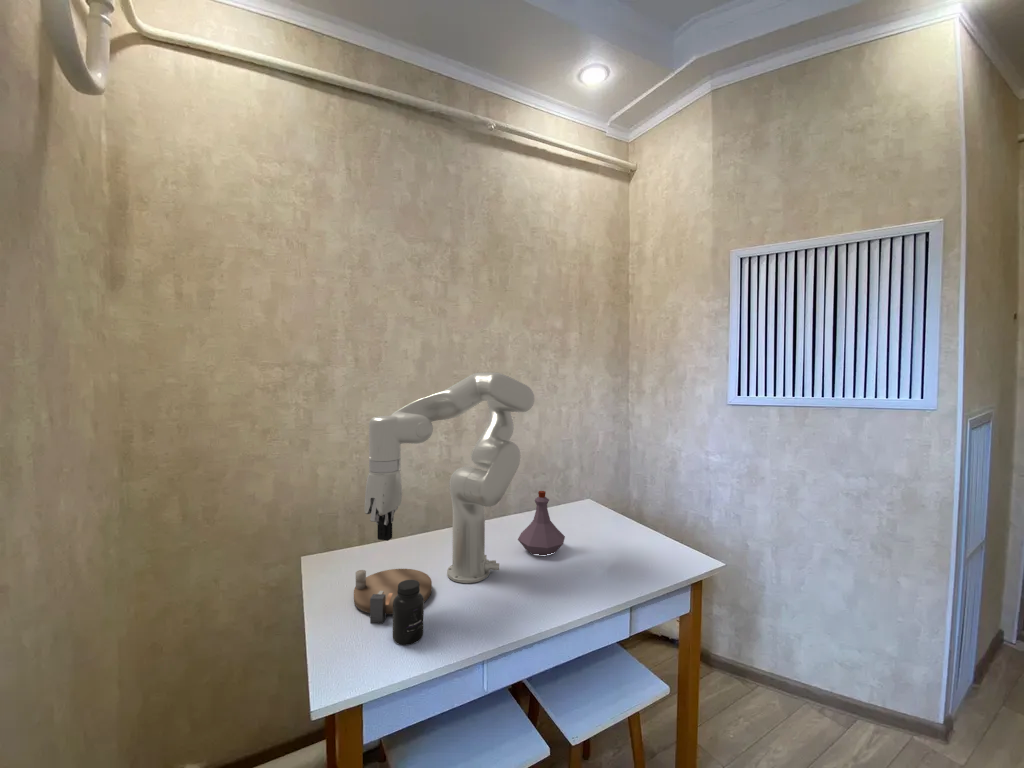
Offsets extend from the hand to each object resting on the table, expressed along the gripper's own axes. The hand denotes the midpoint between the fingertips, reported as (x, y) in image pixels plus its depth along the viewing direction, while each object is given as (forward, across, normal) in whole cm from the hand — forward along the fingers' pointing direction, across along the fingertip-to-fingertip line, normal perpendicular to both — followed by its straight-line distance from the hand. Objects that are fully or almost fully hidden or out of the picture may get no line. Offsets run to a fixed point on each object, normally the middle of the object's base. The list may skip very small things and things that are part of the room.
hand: (384, 538), depth 107 cm
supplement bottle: (+18, +8, +11) cm, 23 cm away
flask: (+18, -47, +30) cm, 59 cm away
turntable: (+18, -7, -2) cm, 19 cm away
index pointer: (+18, +4, +1) cm, 19 cm away
